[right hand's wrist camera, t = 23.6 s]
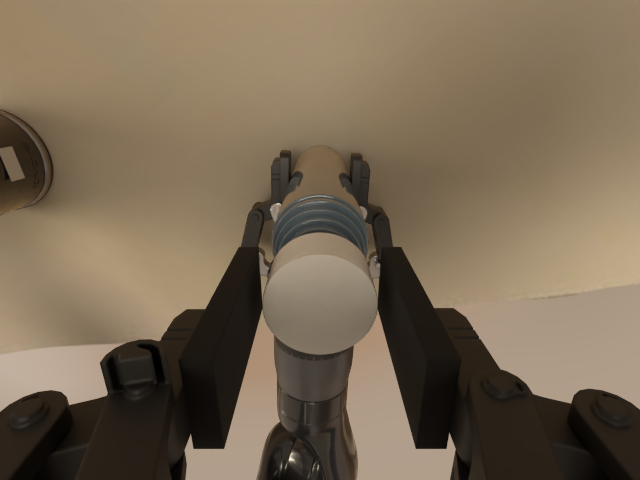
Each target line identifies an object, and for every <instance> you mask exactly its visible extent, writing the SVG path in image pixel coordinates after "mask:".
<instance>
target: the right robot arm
mask: <svg viewBox="0 0 640 480" xmlns="http://www.w3.org/2000/svg"><path fill="white" fill-rule="evenodd" d="M261 311H262V293H261V278H260V262H259V247H239V248H238V250H237V252H236V254H235V255H234V257H233V259H232V261H231V263H230V265H229V267H228V268H227V270H226V272H225V274H224V276H223V278H222V280H221V281H220V283H219V285H218V287H217V289H216V291H215V293H214V294H213V296H212V298H211V300H210V302H209V304H208V306H207V307H206V309H187V310H185V311H184V312H183V313H181V314H180V315H178V316H177V317H176V318H174V320H173V321H172V323H171V324H170V326H169V327H168V329H167V331H166V332H165V333H164V335H163V336H162V338H161V340H160V341H155V340H151V339H149V340H137V341H132V342H128V343H126V344H123V345H121V346H119V347H117V348H115V349H113V350H112V351H111V352H109V353H108V354H107V355H106V356H105V357H104V358H103V360H102V361H101V362H100V365H101V369H102V373H103V376H104V380H105V384H106V388H107V391H108V394H107V396H105V397H101V398H98V399H94V400H90V401H86V402H81V403H77V404H73V405H69V403H68V400H67V397H66V396H65V395H64V394H63V393H62V392H58V391H52V390H50V391H42V392H37V393H34V394H31V395H28V396H25V397H23V398H21V399H19V400H17V401H15V402H13V403H12V404H10V405H8V406H7V407H6V408H5V409H3V410H2V411H1V412H0V480H185V476H186V466H187V464H186V457H185V451H184V450H185V447H186V445H187V442H188V439H189V437H190V434H191V436H192V442H193V448H194V449H224V447H225V443H226V440H227V436H228V432H229V429H230V425H231V421H232V418H233V414H234V410H235V407H236V403H237V399H238V396H239V392H240V388H241V385H242V381H243V377H244V374H245V370H246V366H247V363H248V359H249V355H250V352H251V348H252V344H253V341H254V337H255V333H256V330H257V326H258V322H259V319H260V315H261ZM378 311H379V315H380V319H381V322H382V326H383V330H384V333H385V337H386V341H387V344H388V348H389V352H390V355H391V359H392V363H393V366H394V370H395V374H396V377H397V381H398V385H399V388H400V392H401V396H402V399H403V403H404V407H405V410H406V414H407V418H408V421H409V425H410V429H411V432H412V436H413V440H414V443H415V447H416V449H446V448H447V442H448V436H449V432H450V435H451V437H452V440H453V443H454V445H455V448H456V451H455V456H454V462H453V467H452V473H451V478H450V480H640V410H639V409H638V408H637V407H636V406H634V405H633V404H632V403H630V402H628V401H626V400H625V399H623V398H621V397H619V396H617V395H614V394H611V393H608V392H605V391H602V390H594V389H585V390H580V391H578V392H577V393H576V394H575V395H574V397H573V400H572V403H571V404H570V403H566V402H561V401H557V400H552V399H548V398H544V397H540V396H537V395H534V394H532V392H531V390H530V389H529V387H528V386H527V384H526V383H524V382H523V381H522V380H521V379H520V378H518V377H517V376H515V375H513V374H511V373H509V372H507V371H504V370H500V368H499V367H498V365H497V364H496V362H495V361H494V359H493V358H492V356H491V354H490V353H489V351H488V350H487V348H486V347H485V345H484V344H483V342H482V341H481V340H480V339H479V336H478V335H477V333H476V332H475V330H473V327H472V326H471V324H470V323H469V321H468V320H467V318H466V317H465V316H463V315H462V314H461V313H459V312H458V311H456V310H455V309H454V308H434V307H433V306H432V304H431V302H430V300H429V298H428V296H427V294H426V293H425V291H424V289H423V287H422V285H421V283H420V281H419V280H418V278H417V276H416V274H415V272H414V270H413V268H412V267H411V265H410V263H409V261H408V259H407V257H406V255H405V254H404V252H403V250H402V248H401V247H381V262H380V277H379V293H378Z"/></svg>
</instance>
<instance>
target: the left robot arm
mask: <svg viewBox="0 0 640 480" xmlns="http://www.w3.org/2000/svg"><path fill="white" fill-rule="evenodd" d="M51 177H52V169H51V162H50V159H49V156H48V153H47V151H46V148H45V147H44V145H43V143H42V142H41V140H40V139H39V137H38V136H37V135H36V134H35V132H34V131H33V130H32V129H31V128H30V127H29V126H28V125H26V124H25V123H24V122H23V121H21V120H20V119H18V118H16V117H15V116H13V115H11V114H9V113H7V112H4V111H1V110H0V215H2V214H5V213H7V212H10V211H13V210H15V209H21V208H24V207H27V206H29V205H32V204H34V203H36V202H37V201H39V200H40V199H41V198H42V197H43V196H44V195H45V194H46V192H47V190H48V188H49V186H50V182H51ZM369 177H370V169H369V166H368V163H367V162H366V161H362V155H361V154H360V153H351V163H350V178H349V179H350V182H351V185H352V187H353V190H354V193H355V196H356V198H357V201H358V204H359V207H360V209H361V212H362V215H363V218H364V221H365V222H367V223H369V224H372V229H373V235H374V241H375V247H376V251H375V252H372V253H371V254H370V255H369V261H368V266H369V270H370V273H371V277H372V278H377V277H380V262H381V247H393V245H392V238H391V231H390V225H389V219H388V217H387V215H386V214H385V212H384V210H383V209H382V208H381V207H378V206H377V207H376V206H373V205H371V204H369V203H368V202H367V201H368V189H369ZM290 179H291V151H289V150H282V151H281V152H280V158H275V159H274V161H273V164H272V166H271V187H272V198H271V199H270V200H268V201H265V202H257V203H255V204H254V206H253V208H252V210H251V211H250V212H249V214H248V218H247V222H246V227H245V231H244V236H243V240H242V245H241V247H258V245H259V241H260V237H261V233H262V229H263V225H264V221H266V220H269V219H272V218H273V220H274V223H275V221H276V218H277V215H278V212H279V209H280V207H281V204H282V201H283V198H284V196H285V193H286V190H287V187H288V184H289V182H290ZM274 259H275V258H274ZM273 261H274V260H273ZM273 261H272V262H271V263H269V262H268V261H267V260H266V259H265V251H264V250H263V249H262V248H259V262H260V275H263V276H267V277H269V273H270V270H271V266H272V263H273ZM353 347H354V345H353V346H351V347H349V348H348V349H345V350H343V351H340V352H336V353H332V354H321V355H318V354H309V353H304V352H300V351H297V350H295V349H293V348H291V347H289V346H287V345H285V344H284V343H283V342H281V341H280V340H279V339H278V338H277V337H276V336H275V335H274V358H275V366H276V372H277V407H278V415H279V419H280V422H279V423H278V424H277V425H276V426H275V427H274V428H273V429H272V430H271V432H270V433H269V435H268V437H267V439H266V442H265V445H264V449H263V453H262V457H261V462H260V466H259V471H258V475H257V479H256V480H356V479H357V472H358V458H357V450H356V445H355V441H354V437H353V434H352V430H351V427H350V423H349V419H348V414H347V410H346V400H347V388H348V377H349V373H350V369H351V365H352V358H353Z"/></svg>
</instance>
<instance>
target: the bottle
mask: <svg viewBox="0 0 640 480" xmlns="http://www.w3.org/2000/svg"><path fill="white" fill-rule="evenodd" d="M310 233H330V234H335V235H338V236H341V237H343V238H345V239H347V240H348V241H350V242H352V243H353V244H354V245H355V246H356V247H357V248H358V249H359V250H360V251H361V252H362V254H363V255H364V257H365V258H366V255H367V250H368V230H367V226H366V223H365V221H364V218H363V215H362V212H361V209H360V207H359V204H358V201H357V198H356V196H355V193H354V190H353V187H352V185H351V182H350V179H349V176H348V173H347V171H346V168H345V165H344V162H343V160H342V158H341V157H340V155H339V154H338V153H337V152H336V151H334V150H333V149H331V148H329V147H325V146H315V147H311V148H309V149H307V150H306V151H304V152H303V153H302V154H301V155H300V157H299V158H298V160H297V162H296V165H295V168H294V170H293V173H292V176H291V179H290V182H289V184H288V187H287V190H286V193H285V196H284V198H283V201H282V204H281V207H280V209H279V212H278V215H277V218H276V221H275V223H274V227H273V230H272V250H273V255H274V258H275V257H276V255H277V254H278V252H279V251H280V250H281V249H282V248H283V247H284V246H285V245H286V244H287V243H289V242H290V241H292V240H293V239H295V238H297V237H300V236H302V235H306V234H310Z"/></svg>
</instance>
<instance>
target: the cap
mask: <svg viewBox="0 0 640 480" xmlns="http://www.w3.org/2000/svg"><path fill="white" fill-rule="evenodd" d="M262 307H263V314H264V318H265V320H266V323H267V325H268V327H269V328H270V330H271V331H272V333H273V334H274V335H275V336H276V337H277V338H278V339H279V340H280V341H281V342H283V343H284V344H285V345H287V346H289V347H291V348H293V349H295V350H297V351H300V352H304V353H309V354H318V355H321V354H332V353H336V352H340V351H343V350H345V349H348V348H349V347H351V346H353V345H355V344H356V343H357V342H359V341H360V340H361V339H362V338H363V337H364V336H365V335H366V334H367V333H368V332H369V330H370V328H371V327H372V325H373V323H374V321H375V318H376V315H377V309H378V300H377V294H376V291H375V287H374V283H373V280H372V277H371V273H370V270H369V266H368V263H367V261H366V259H365V257H364V255H363V254H362V252H361V251H360V250H359V249H358V248H357V247H356V246H355V245H354V244H353V243H352V242H350V241H348V240H347V239H345V238H343V237H341V236H338V235H335V234H330V233H310V234H306V235H302V236H300V237H297V238H295V239H293V240H292V241H290V242H289V243H287V244H286V245H285V246H284V247H283V248H282V249H281V250H280V251H279V252H278V254H277V255H276V257H275V259H274V261H273V263H272V266H271V270H270V273H269V277H268V280H267V284H266V287H265V291H264V295H263V302H262Z"/></svg>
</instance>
